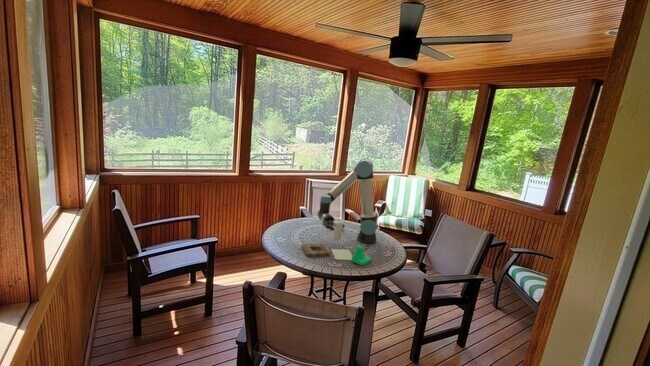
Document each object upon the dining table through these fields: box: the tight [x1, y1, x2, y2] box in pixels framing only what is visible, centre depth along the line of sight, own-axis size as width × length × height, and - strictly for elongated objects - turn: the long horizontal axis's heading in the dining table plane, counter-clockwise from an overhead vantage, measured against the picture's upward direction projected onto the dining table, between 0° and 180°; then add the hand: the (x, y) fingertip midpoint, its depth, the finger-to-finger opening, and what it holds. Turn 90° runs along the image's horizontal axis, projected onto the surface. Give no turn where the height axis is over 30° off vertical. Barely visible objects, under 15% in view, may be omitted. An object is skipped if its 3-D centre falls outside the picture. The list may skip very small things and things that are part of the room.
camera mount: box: [350, 245, 372, 266], centre depth 196 cm, size 12×8×10 cm, turn 137°
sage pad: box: [331, 248, 353, 261], centre depth 205 cm, size 13×16×1 cm
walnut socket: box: [301, 243, 332, 258], centre depth 205 cm, size 16×16×2 cm
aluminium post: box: [330, 220, 344, 242], centre depth 202 cm, size 5×5×12 cm
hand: (340, 231), depth 197 cm, fingers closed on aluminium post, 5 cm apart
